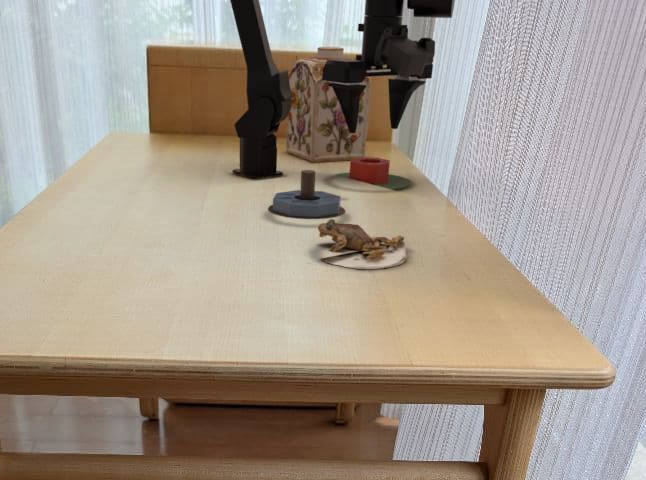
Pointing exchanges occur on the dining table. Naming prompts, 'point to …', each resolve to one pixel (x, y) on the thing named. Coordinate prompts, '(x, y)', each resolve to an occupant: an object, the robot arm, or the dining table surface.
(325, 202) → the bottom ring
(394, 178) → the mat
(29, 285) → the dining table surface
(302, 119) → the decorative jar
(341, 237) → the frog figurine
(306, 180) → the stacker
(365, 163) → the top ring
